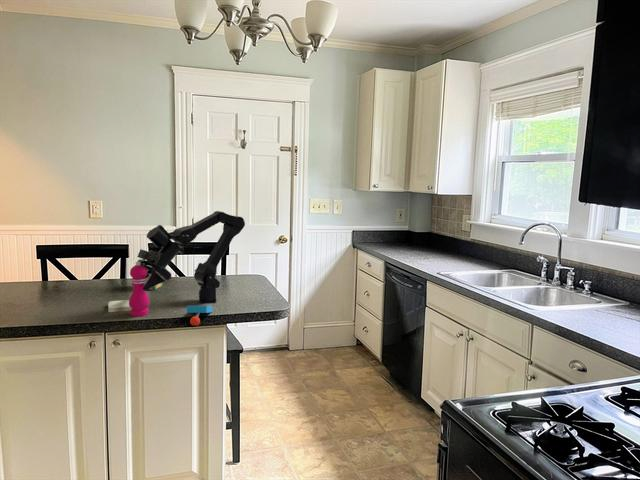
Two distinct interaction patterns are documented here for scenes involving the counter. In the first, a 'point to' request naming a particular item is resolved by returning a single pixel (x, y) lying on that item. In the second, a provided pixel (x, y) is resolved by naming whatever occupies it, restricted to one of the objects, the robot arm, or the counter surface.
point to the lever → (197, 309)
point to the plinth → (119, 306)
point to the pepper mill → (138, 291)
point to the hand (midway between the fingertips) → (138, 287)
